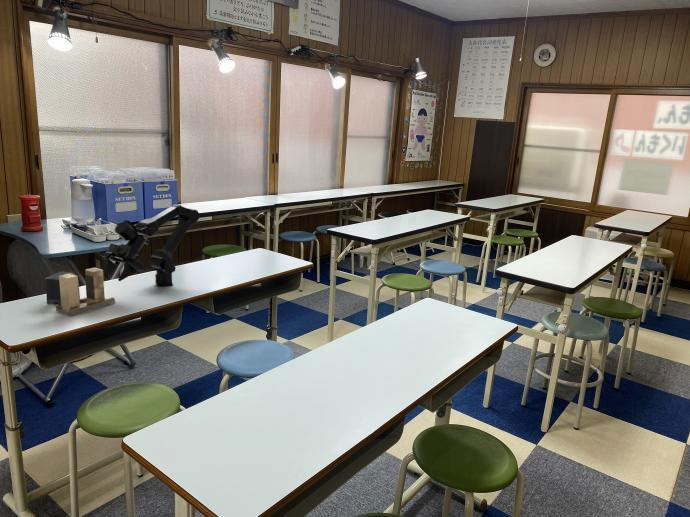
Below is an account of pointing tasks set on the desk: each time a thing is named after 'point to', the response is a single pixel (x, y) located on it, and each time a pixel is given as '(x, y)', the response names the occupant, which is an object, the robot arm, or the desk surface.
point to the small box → (54, 288)
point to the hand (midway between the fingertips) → (111, 278)
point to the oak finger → (94, 285)
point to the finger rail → (76, 297)
